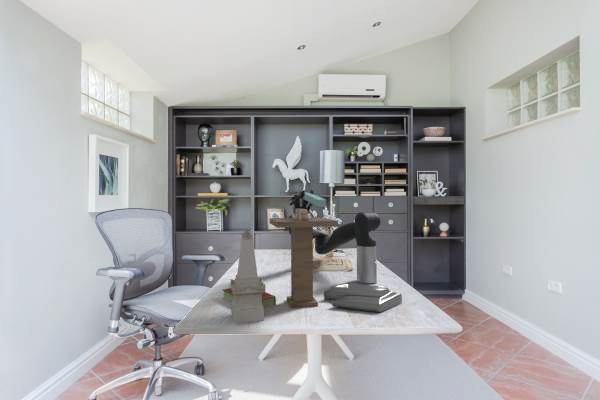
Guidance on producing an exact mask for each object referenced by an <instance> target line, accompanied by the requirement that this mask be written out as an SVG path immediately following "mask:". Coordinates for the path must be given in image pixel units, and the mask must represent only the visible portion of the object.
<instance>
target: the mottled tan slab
mask: <svg viewBox="0 0 600 400" xmlns="http://www.w3.org/2000/svg"><path fill="white" fill-rule="evenodd" d="M352 261H353V260H350V259H345V258H339V257H320V258H313V272H346V273H347V272H350V271H352V270H354V268H355V267H354V263H353V262H352Z"/></svg>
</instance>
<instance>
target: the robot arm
mask: <svg viewBox="0 0 600 400" xmlns="http://www.w3.org/2000/svg"><path fill="white" fill-rule="evenodd" d="M309 193H311V194H313V195H315V193H314V190H312V189H311V190H309ZM304 195H305V189H303V190H302V191H300V192H299V194H294V195H293V196H292V197H291V198H290V199H289V200H288V202H289V203H288V204H289V206H293V207H292V210H291V215H290V216H288V218H295V214H296V209H307V215H308V216H309V214H310V210H311V207H312V206H313V205H314V204H312V203H310V202H308V201H306V200H304V199H303V197H304ZM380 226H381V217H380V216H379V214H378V213H376V212H372V211H366V212H364V211H363V212H358V213H356V216H355V217H354V221H352V222H349V223H345V224H341V226H337V227H336V228H335V229H334V230H333V231H332V233H331V234H330V235H328V233H324V232H322V231H319V230H315V229H313V240H314V250H315V253H316V254H317V255H327V254H330V253H331V252H333V250H335V249H337V248H338V247H340V246H343V245H346V244H347V243H350V242H351V241H353V240H355V241H356V282H357V283H361V284H377V281H378V280H377V279H378V278H377V277H378V276H377V274H378V273H377V272H378V271H377V270H378V267H377V265H378V264H377V240H376V239H375V238H372V237H371V236H370V234H369V233H371V232H374V231H376V230H378V228H379V227H380ZM287 231H288V233H289V235H290V236H291V227H289V228H288V229H287Z"/></svg>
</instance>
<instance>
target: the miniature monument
mask: <svg viewBox="0 0 600 400" xmlns="http://www.w3.org/2000/svg"><path fill="white" fill-rule="evenodd" d="M253 238H254V237H253V235H252V233H251V232H250V231H249V229H248V228H246V229H245V231H244V232H243V233H242V234H241V240H240V248H239V255H238V256H239V259H238V265H237V273H236V275H235V278H234V279H232V278H231V279H230V288H231V290H232V293H233V294H234V300H233V301H232V302H231V316H232V319H233V323H234V324H235V325H236V324H247V323H256V322H264V321H265V316H264V315H265V310H264V309H265V307H263V305H262V293H263V292H266V284H265V283H263V282H262V277H261V276H258V268H257V261H256V254H255V246H254V239H253Z"/></svg>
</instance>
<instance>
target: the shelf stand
mask: <svg viewBox="0 0 600 400" xmlns="http://www.w3.org/2000/svg"><path fill="white" fill-rule="evenodd" d="M269 224H270V225H272V226H273V227H274V228H278V229H279V228H281V229H283V228H289V227H291V235H290V272H291V273H290V275H291V277H290V285H291V287H290V288H291V289H290V294H291V295H290V296H289V295H287V296H286V301H287V303H288V305H289V307H290V308H291V309H297V308H312V307H313V308H314V307H318V306H319V302H318V301H317V299H316V298H315V297H314V271H313V259H314V250H313V249H314V246H313V245H314V243H313V242H314V239H313V230H314V228H323V227H324V228H325V227H326V228H329V227H332V228H333V227H336V228H337V227H339V220H336V219H331V218H327V217H309V214H308V215H307V209H296V214H295V218H289V217H278V218H277V217H274V218H271V217H270V218H269Z"/></svg>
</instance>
